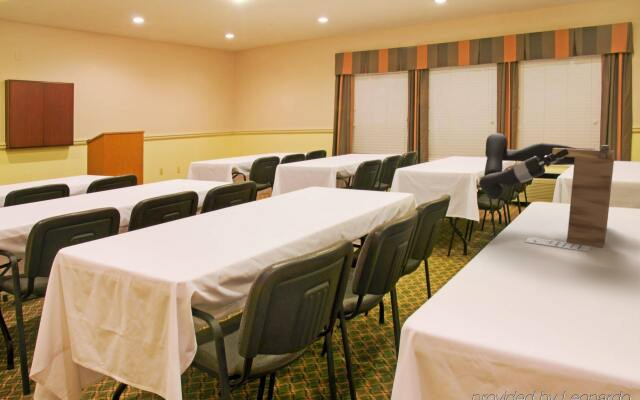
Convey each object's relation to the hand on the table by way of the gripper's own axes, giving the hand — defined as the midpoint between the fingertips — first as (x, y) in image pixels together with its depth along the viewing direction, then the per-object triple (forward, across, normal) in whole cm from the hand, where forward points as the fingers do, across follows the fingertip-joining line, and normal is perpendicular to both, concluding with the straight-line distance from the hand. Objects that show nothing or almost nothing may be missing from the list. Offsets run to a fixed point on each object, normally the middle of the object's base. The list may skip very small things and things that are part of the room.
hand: (570, 150), depth 190 cm
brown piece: (-10, 0, -34) cm, 35 cm away
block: (+3, 0, -4) cm, 5 cm away
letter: (-17, +8, -30) cm, 35 cm away
